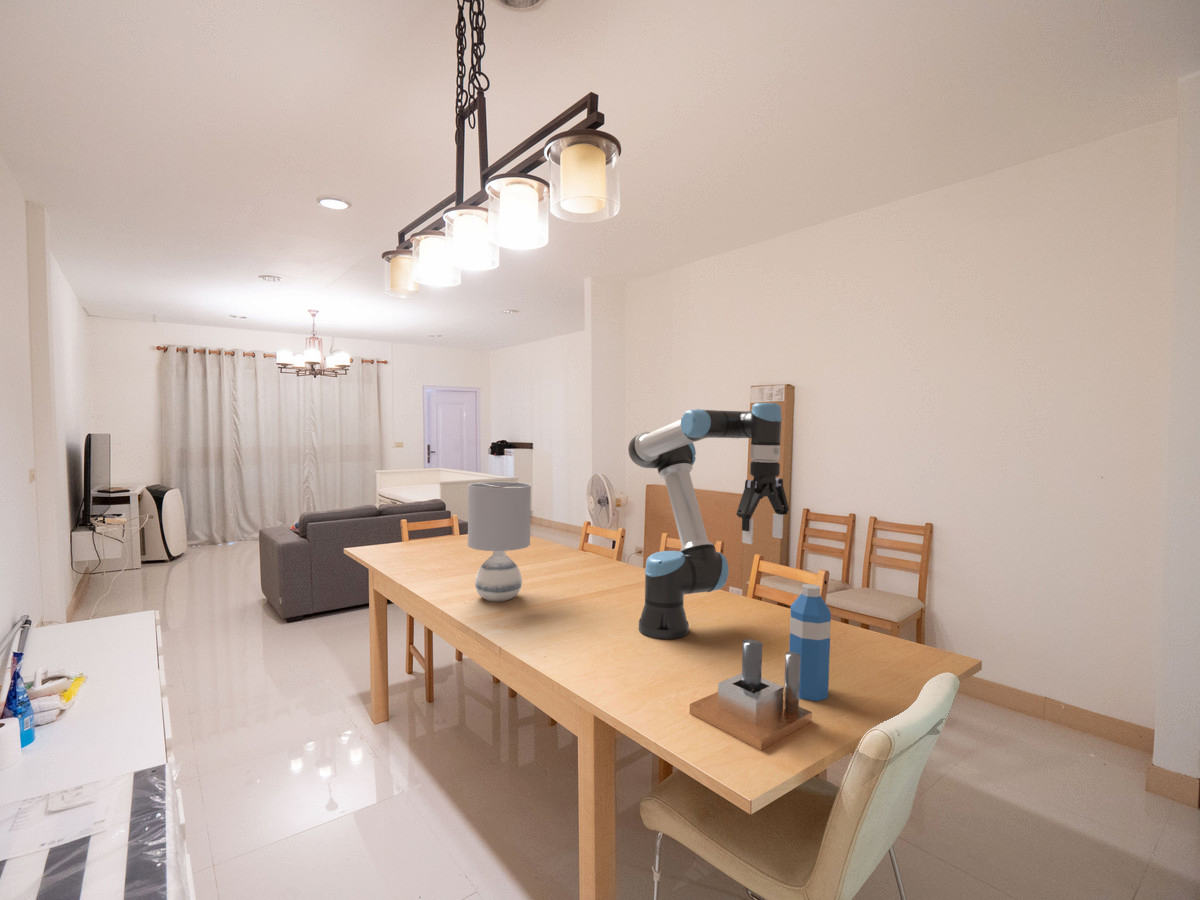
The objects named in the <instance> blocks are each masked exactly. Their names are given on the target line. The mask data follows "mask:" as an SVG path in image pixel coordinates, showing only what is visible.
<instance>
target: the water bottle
mask: <svg viewBox="0 0 1200 900" xmlns="http://www.w3.org/2000/svg"><path fill="white" fill-rule="evenodd" d="M801 587H802V588H801V590H802V591H801V593H800V594H799V595H798V596H797V598H796V599H795V600H794V601H793V602H792V603H791V604H790V620H789V621H790V623H789V624H790V626H789V647H788V648H789V650H788V652H795V653H798V654H800V656H801V657H800V687H799V700H804V701H805V700H808V701H813V702H819V701H823V700H826V699H827V700H828V698H829V684H830V683H829V682H830V680H829V679H830V676H829V675H830V652H831V651H830V650H831V649H830V648H831V624H832V623H831V620H832V617H831V616H832V613H831V610H830V608H829V606H828V605H827V603H826V602H825V601H824V599H823V598H822V596H821V587H820V585H817V584H813V583H812V584H811V583H804V584H802V586H801Z"/></svg>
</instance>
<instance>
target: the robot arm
mask: <svg viewBox="0 0 1200 900" xmlns="http://www.w3.org/2000/svg"><path fill="white" fill-rule="evenodd" d="M782 421H783V418H782V407H781V405H780V404H779V403H776V402H756V403H753V404H752V406H751V410H750V411H747V410H744V411H742V410H741V411H739V410H716V409H715V410H714V409H700V408H697V409H688V410H686V411H685V412H684V414H683V415H682V416H681V419H678V420H675V421H674V422H671V423H670V424H667V425H665V426H662V427H661V428H658V429H656V430H653V431H644V432H640V433H639V434H637V435H634V437H633V438H632V439H631V440H630V442H629V444H628V455H629V457H630V459H631V461H632V462H633V463H634V464H635V465H637V466H639V467H641V468H645V469H657V472H658V473H657V474H658V476H659V477H660V478H662V479H664V481H665V486H666V490H667V494H668V497H669V498H668V499H669V501H670V506H671V509H672V513H673V517H674V521H675V522H674V523H675V524H676V528H677V533H678V536H679V541H680V545H681V548H680V550H679V551H678V550H663V551H656V552H654V553H652V554H651V555H649V556H648V557H647V558H646V561H645V569H644V573H645V576H644V577H645V581H644V583H645V584H644V605H643V608H642V612H641V615H640V618H639V620H638V631H639V633H641V634H642V635H645V636H647V637H650V638H654V639H659V640H660V639H661V640H662V639H663V640H673V639H674V640H675V639H679V638H683V637H685V636H687V635H688V634H689V633H690V631H689V630H690V629H689V628H690V627H689V621H688V619H687V616H686V615H687V614H686V610H685V608H684V600H685V599H684V597H685V596H684V595H691V594H692V595H693V594H697V593H698V594H700V593H711V592H714V591H719V590H720V589H723V587H724V586H725V585H726V583H727V580H728V577H729V570H730V569H729V564H728V560H727V557H726V556H725V555H724V554H723V553H721V552H719V551H717V549H716V546H715V543H712V542H711V541H709V539H708V535H707V532H706V528H705V525H704V521H703V517H702V514H701V510H700V506H699V502H698V500H697V498H698V497H697V495H696V492H695V488H694V484H693V481H692V476H691V471H692V470H693V466H694V464H695V461H696V455H697V451H696V447H695V445H694V443H695V442H698V441H702V440H703V439H710V438H713V439H714V438H715V439H716V438H718V439H719V438H720V439H721V438H722V439H723V438H724V439H725V438H726V439H751V441H750V460H752V461H751V462H750V465H749V466H750V470H749V471H750V475H751V476H753V480H752V479H751V480H750V479H745V481H744V489H743V492H742V495H741V499H740V502H739V504H738V507H737V511H736V516H737V517H738V518H741V531H742V532H741V533H742V534H741V537H742V539H741V542H742V543H743V544H748V545H753V539H754V518H752V517H753V515H754V512H755V511H756V509H757V506H758V505H759V503H760V501H761V499H763V498H764V497H767V499H768V500H769V503H770V506H771V507H772V508H773V511H774V513H772V532H771V533H772V538H776V539H783V535H784V533H783V531H784V515H785V516H786V515H788V513H789V510H790V507H789V503H788V501H787V496H786V495H787V494H786V493H785V488H784V479H783V478H778V477H779V476H780V475H781V474H780V469H781V464H780V462H778V461H780V460H781V440H782V439H781V436H782V435H781V434H782Z"/></svg>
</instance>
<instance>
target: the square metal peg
mask: <svg viewBox="0 0 1200 900" xmlns="http://www.w3.org/2000/svg"><path fill="white" fill-rule="evenodd" d="M741 654H742V656H741V657H742V660H741V661H742V662H741V673H742V688H743V689H745V690H747V691H750V692H752V693H756V692H758V691H760V690H761V678H762V673H763V672H762V669H763V667H762V665H763V642H762V641H760V640H757V639H753V638H752V639H751V638H748V639H744V640H743V641H742V653H741Z"/></svg>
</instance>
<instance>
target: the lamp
mask: <svg viewBox="0 0 1200 900" xmlns="http://www.w3.org/2000/svg"><path fill="white" fill-rule="evenodd" d="M531 493H532V484H530V483H526V482H517V481H515V482H514V481H483V482H473V483H469V484H468V494H467V495H468V496H467V497H468V498H467V499H468V502H467V504H468V505H467V510H468V511H467V546H468V547H469V548H470V549H473V550H477V551H484V552H492V555H491V556H489V557H488V558H487V559H486V560H485V561H484V562H483V563H482V564H481V565H480V567H479V568H478V571H477V572H476V574H475V575H476V576H475V582H474V587H475V589H476V592H477V594H478V595H479V596H480V597H481V598H483V599H485V600H486V601H489V602H494V603H495V602H497V603H499V602H506V601H509V600H512V599H513V598H515V597H516V596H517V595H518V594H519V593H520V591H521V589H522V585H523V579H522V577H523V576H522V574H521V571H520V569H519V567H518V565H517V564H516V563H515V562H514V560H513V559H512V558H510V556H508V555H507V554H506V551H508V552H509V551H518V550H521V549H525V548H528V547H529V546H530V545H531V513H532V512H531V504H532V503H531V500H532V495H531Z"/></svg>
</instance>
